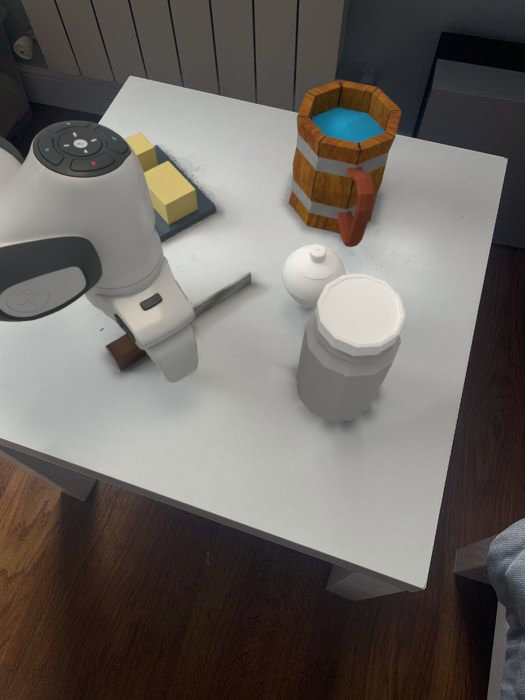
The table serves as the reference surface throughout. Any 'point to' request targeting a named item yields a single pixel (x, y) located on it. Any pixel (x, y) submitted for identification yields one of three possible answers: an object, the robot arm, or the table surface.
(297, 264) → the spinning top
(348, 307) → the jar
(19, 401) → the table surface
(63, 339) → the table surface
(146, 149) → the block
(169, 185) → the butter block
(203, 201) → the butter dish
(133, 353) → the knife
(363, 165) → the mug
